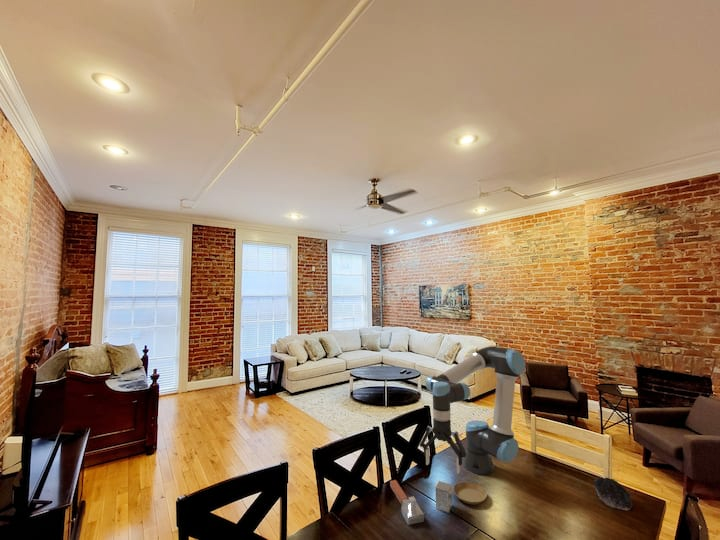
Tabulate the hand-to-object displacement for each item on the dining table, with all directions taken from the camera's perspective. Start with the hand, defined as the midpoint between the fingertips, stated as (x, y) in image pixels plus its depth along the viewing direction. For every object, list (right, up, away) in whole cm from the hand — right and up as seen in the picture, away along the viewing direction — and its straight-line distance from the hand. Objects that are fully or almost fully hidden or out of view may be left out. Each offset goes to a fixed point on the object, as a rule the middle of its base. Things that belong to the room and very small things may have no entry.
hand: (442, 467), depth 139 cm
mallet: (-17, -17, +2) cm, 24 cm away
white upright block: (0, -17, -1) cm, 17 cm away
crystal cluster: (+77, -16, +2) cm, 79 cm away
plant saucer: (+14, -17, +6) cm, 23 cm away
